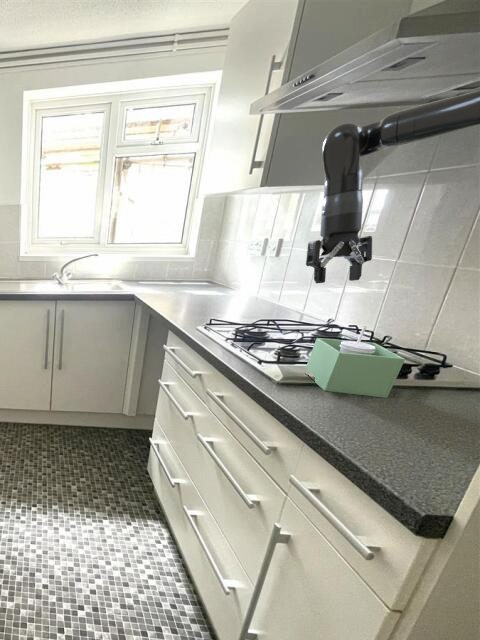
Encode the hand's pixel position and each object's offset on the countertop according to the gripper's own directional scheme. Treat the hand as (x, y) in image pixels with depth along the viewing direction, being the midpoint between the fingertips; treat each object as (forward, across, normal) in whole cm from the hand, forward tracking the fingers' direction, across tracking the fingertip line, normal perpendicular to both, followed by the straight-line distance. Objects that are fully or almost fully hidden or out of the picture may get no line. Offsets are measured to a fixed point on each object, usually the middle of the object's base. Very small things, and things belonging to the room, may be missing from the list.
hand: (337, 281), depth 105 cm
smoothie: (+25, -2, -6) cm, 25 cm away
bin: (+25, -2, -6) cm, 26 cm away
